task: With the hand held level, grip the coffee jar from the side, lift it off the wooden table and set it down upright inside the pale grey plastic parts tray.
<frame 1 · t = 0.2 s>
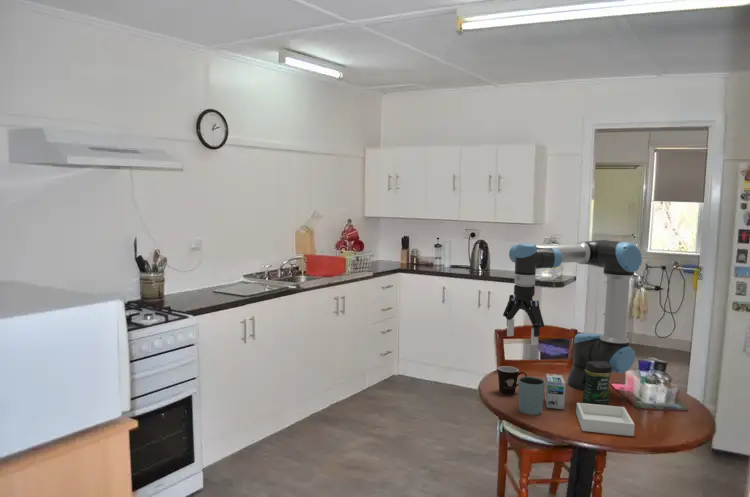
hand: (521, 340, 220), 28 cm above the table, tool pointing down, fingers open, 13 cm apart
blue-grey cup: (529, 411, 223), on the table
parts tray: (603, 424, 211), on the table
coffee mug: (510, 393, 243), on the table
light bulb box: (554, 404, 231), on the table
coffee jar: (595, 407, 229), on the table
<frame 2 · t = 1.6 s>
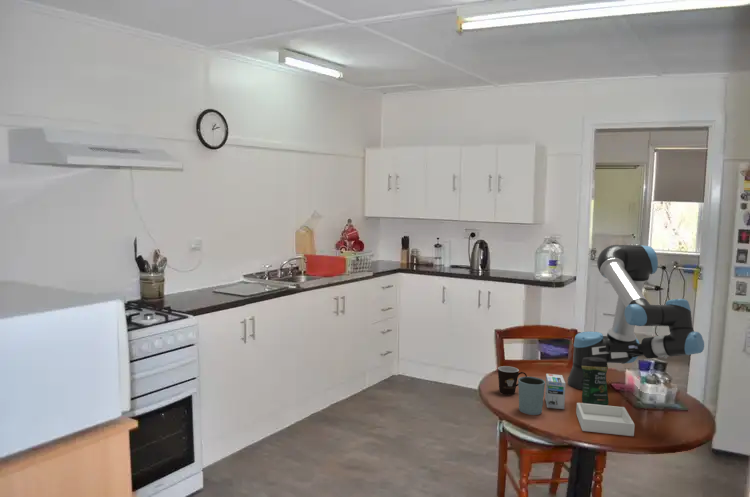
hand: (602, 353, 226), 22 cm above the table, tool tilted 70°, fingers open, 13 cm apart
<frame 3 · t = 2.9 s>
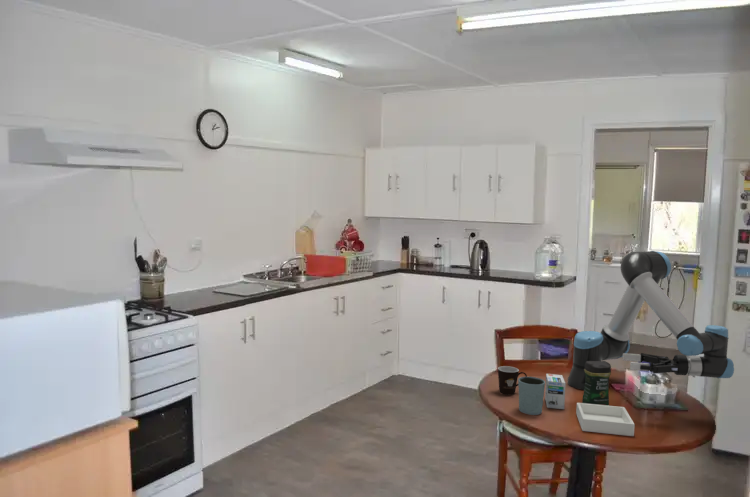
hand: (626, 361, 224), 20 cm above the table, tool horizontal, fingers open, 13 cm apart
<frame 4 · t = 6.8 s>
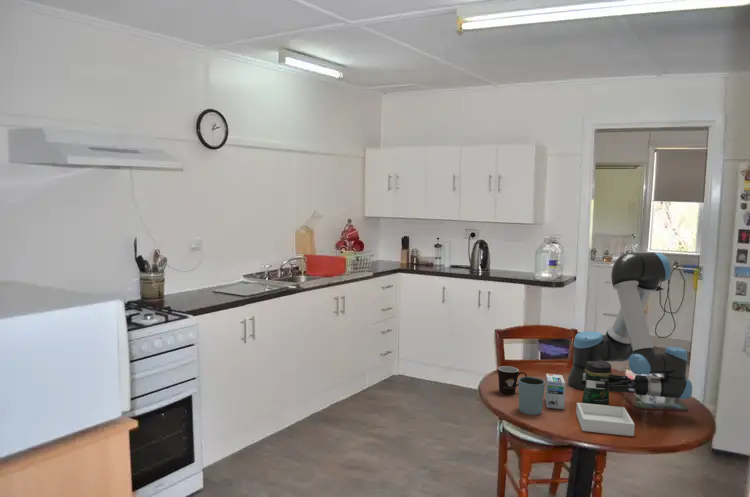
hand: (584, 380, 229), 11 cm above the table, tool horizontal, fingers closed on coffee jar, 8 cm apart
coffee jar: (595, 407, 229), on the table, touching gripper
everything else where it was.
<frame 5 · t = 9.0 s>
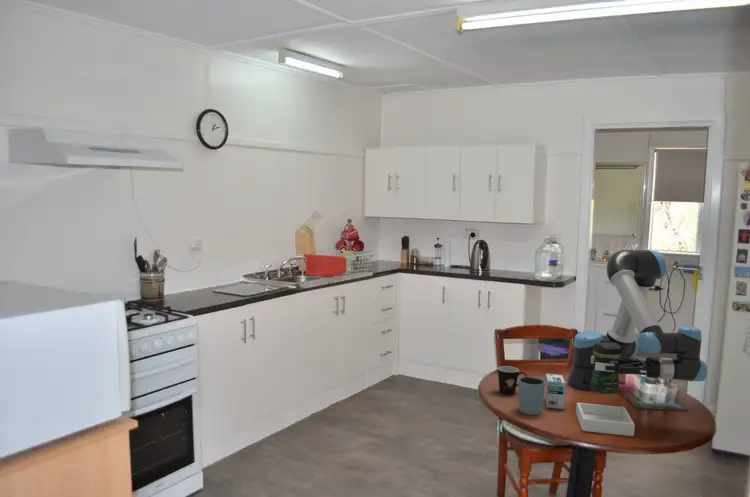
hand: (593, 362, 216), 21 cm above the table, tool horizontal, fingers closed on coffee jar, 8 cm apart
coffee jar: (604, 392, 216), point 10 cm above the table, touching gripper
everything else where it was.
when the fingers open (13 cm above the table, at t = 11.2 s): coffee jar drops 1 cm, resting on parts tray.
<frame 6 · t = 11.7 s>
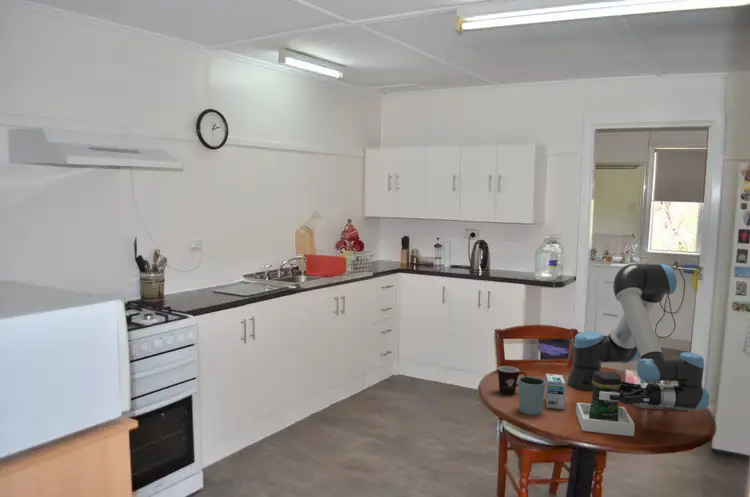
hand: (596, 389, 211), 13 cm above the table, tool horizontal, fingers open, 13 cm apart
coffee jar: (603, 422, 211), point 1 cm above the table, touching parts tray
everything else where it was.
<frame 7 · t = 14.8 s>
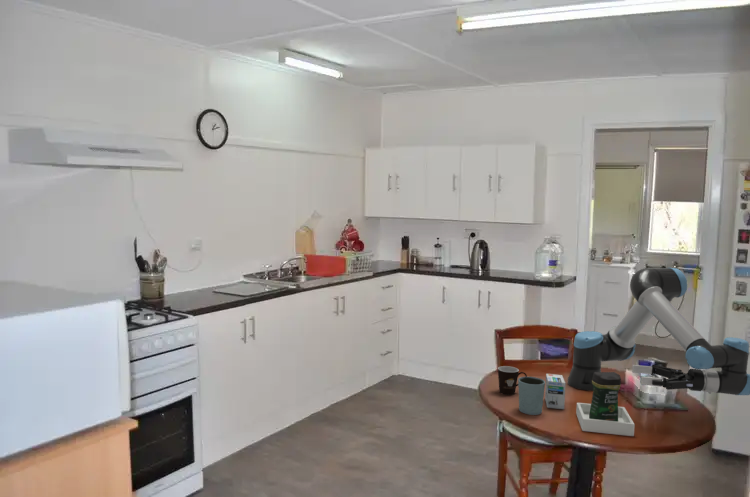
hand: (636, 374, 207), 20 cm above the table, tool horizontal, fingers open, 13 cm apart
nothing on the table moved.
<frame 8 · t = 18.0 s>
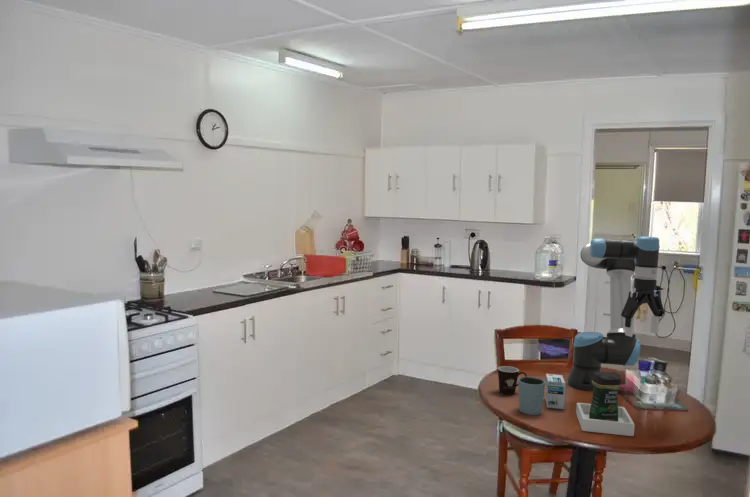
hand: (641, 334, 217), 32 cm above the table, tool pointing down, fingers open, 13 cm apart
nothing on the table moved.
at the end: coffee jar inside the target area on the parts tray (0.1 cm from its centre), point 0.6 cm above the parts tray's base; coffee jar tilted 0°; the gripper is holding nothing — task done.
